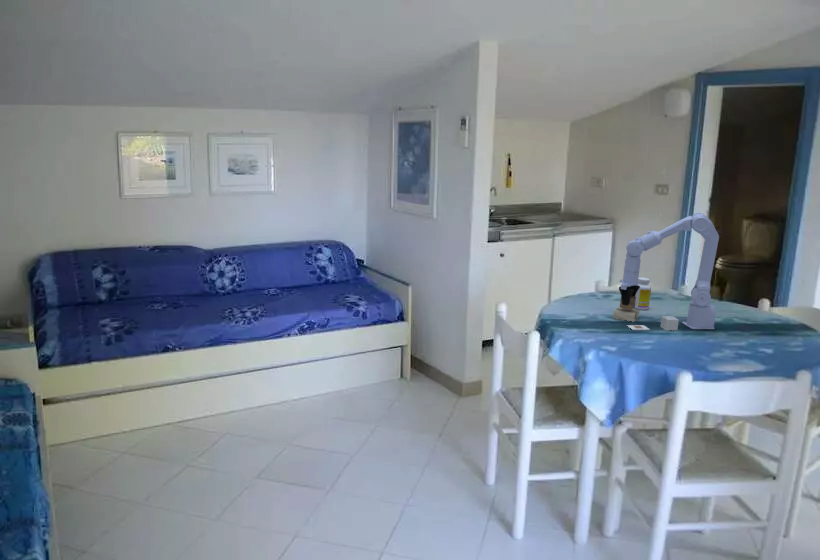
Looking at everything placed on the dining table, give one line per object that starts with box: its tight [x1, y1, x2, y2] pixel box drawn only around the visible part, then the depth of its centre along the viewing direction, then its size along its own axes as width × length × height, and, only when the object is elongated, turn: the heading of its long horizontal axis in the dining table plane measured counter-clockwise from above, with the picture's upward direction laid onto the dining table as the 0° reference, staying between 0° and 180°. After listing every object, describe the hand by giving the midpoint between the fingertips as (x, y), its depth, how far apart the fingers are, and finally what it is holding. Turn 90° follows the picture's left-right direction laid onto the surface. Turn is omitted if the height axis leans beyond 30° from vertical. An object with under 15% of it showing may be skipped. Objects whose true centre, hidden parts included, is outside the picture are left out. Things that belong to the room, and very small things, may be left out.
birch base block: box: [612, 305, 640, 323], centre depth 265 cm, size 8×8×4 cm
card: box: [626, 324, 650, 331], centre depth 253 cm, size 7×5×1 cm
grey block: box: [659, 315, 680, 332], centre depth 253 cm, size 4×4×4 cm
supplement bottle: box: [634, 277, 652, 311], centre depth 279 cm, size 7×7×13 cm
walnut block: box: [619, 296, 636, 310], centre depth 264 cm, size 4×4×4 cm
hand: (627, 303), depth 264 cm, fingers closed on walnut block, 4 cm apart
